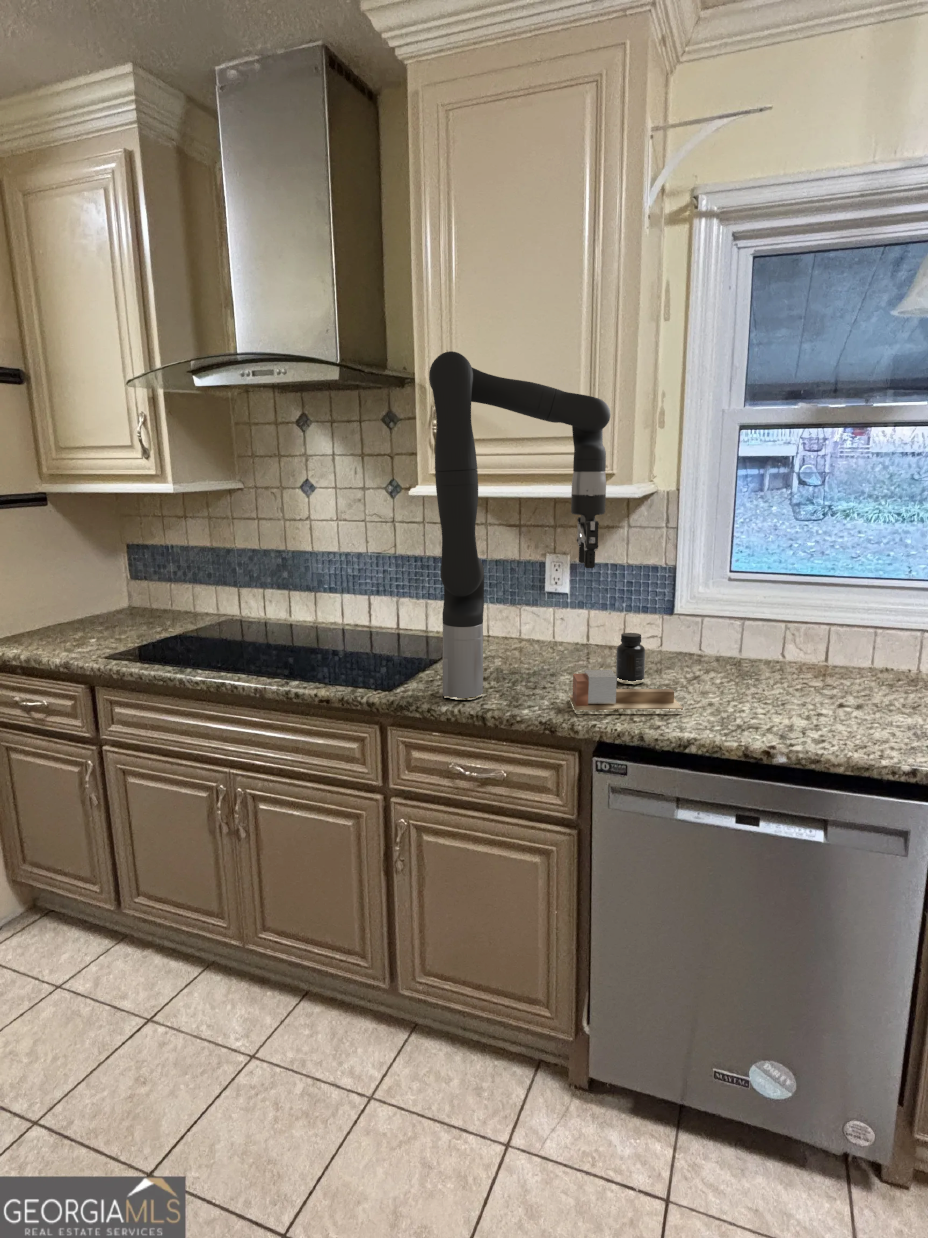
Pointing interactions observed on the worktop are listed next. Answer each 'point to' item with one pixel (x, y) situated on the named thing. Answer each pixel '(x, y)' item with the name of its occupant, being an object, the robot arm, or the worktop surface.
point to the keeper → (601, 686)
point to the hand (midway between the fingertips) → (586, 565)
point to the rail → (628, 706)
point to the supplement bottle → (630, 658)
